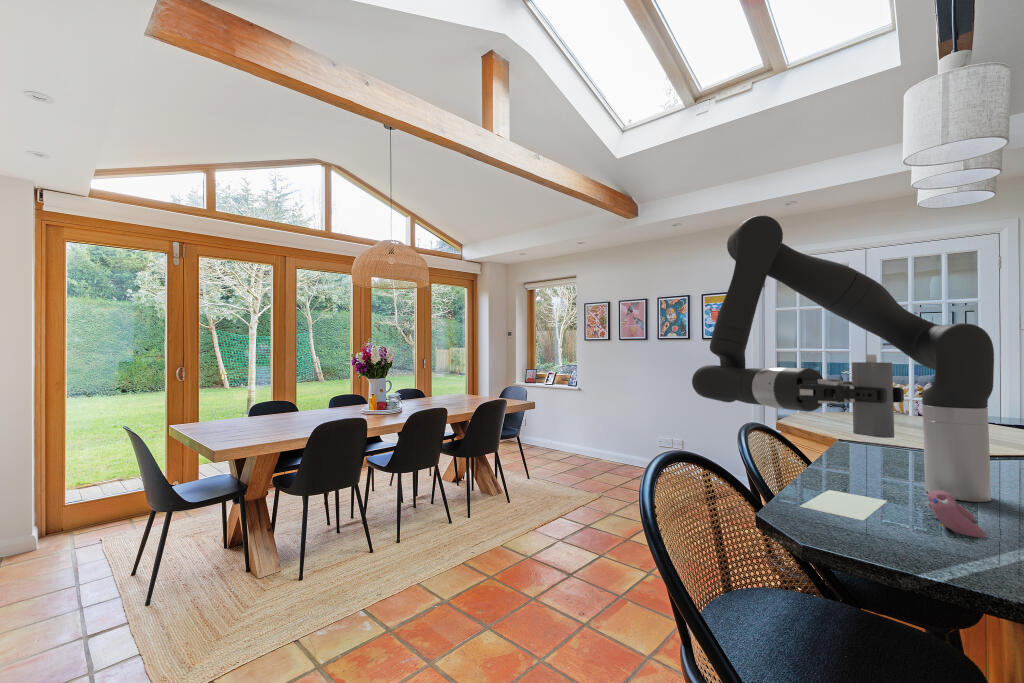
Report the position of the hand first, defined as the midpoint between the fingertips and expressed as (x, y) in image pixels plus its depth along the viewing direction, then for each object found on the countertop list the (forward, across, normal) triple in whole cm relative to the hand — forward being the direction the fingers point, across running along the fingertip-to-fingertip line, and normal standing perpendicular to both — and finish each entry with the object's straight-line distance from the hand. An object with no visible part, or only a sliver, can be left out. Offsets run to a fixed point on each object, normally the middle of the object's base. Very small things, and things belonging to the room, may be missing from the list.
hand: (893, 395), depth 67 cm
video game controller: (0, +13, +21) cm, 25 cm away
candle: (-3, 0, +6) cm, 7 cm away
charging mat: (-12, +7, +21) cm, 25 cm away
